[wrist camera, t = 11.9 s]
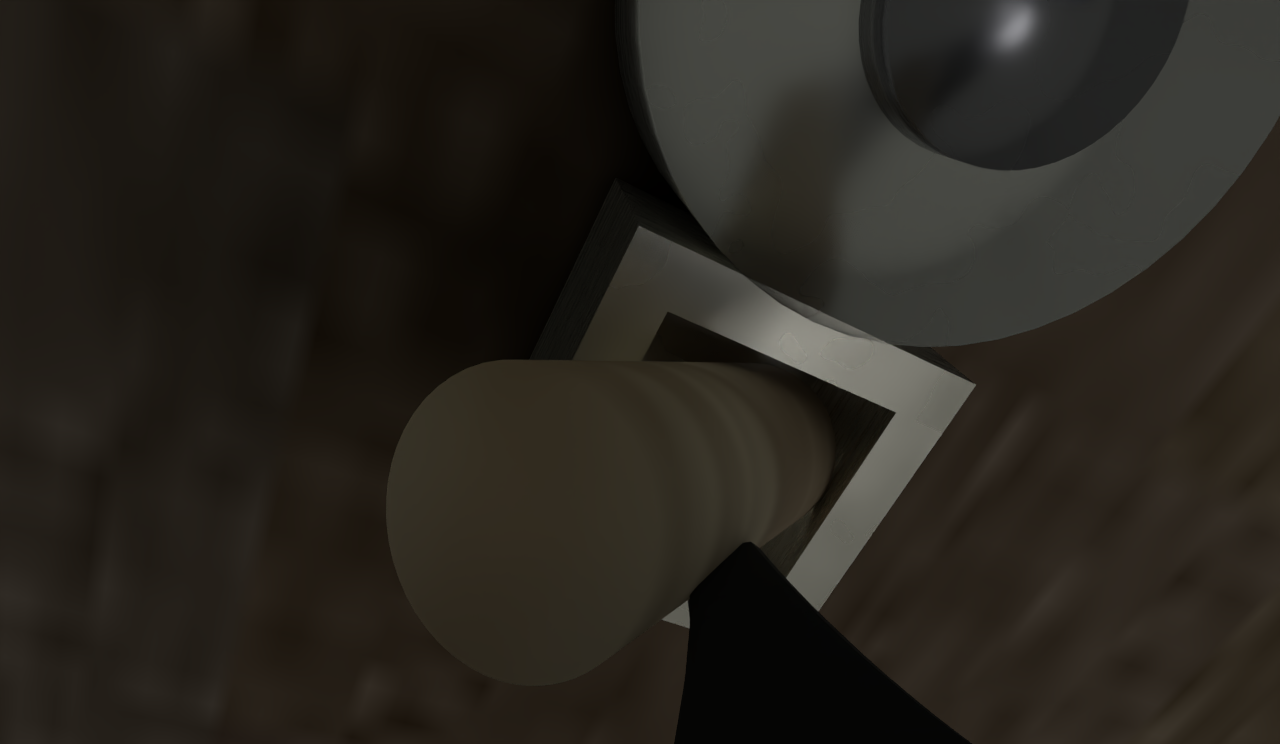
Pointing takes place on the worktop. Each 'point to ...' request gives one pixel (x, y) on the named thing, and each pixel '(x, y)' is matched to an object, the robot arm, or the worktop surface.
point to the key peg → (590, 499)
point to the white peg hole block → (902, 199)
